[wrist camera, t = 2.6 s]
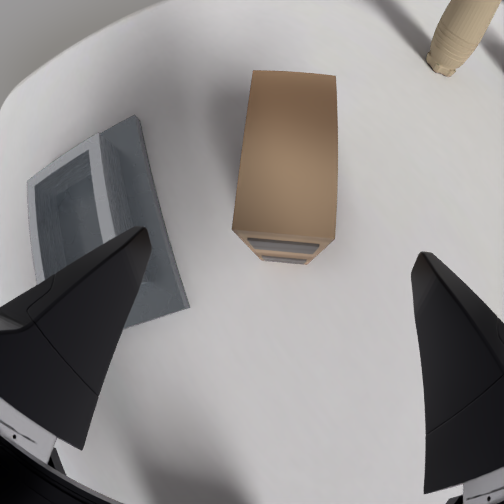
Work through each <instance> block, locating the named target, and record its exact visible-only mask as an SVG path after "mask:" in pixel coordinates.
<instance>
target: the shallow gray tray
mask: <svg viewBox="0 0 504 504" xmlns="http://www.w3.org/2000/svg"><path fill="white" fill-rule="evenodd" d="M27 202H28V219H29V230H30V240H31V248H32V256H33V263H34V269H35V275H36V281H37V285H38V284H39V283H41V282H42V281H44V280H46V279H47V278H49V277H50V276H52V275H53V274H56V272H58V271H60V270H61V269H63V268H64V267H66V266H67V265H69V264H71V263H72V262H74V261H75V260H77V259H79V258H80V257H82V256H84V255H85V254H87V253H89V252H90V251H92V250H94V249H95V248H97V247H99V246H100V245H102V244H104V243H105V242H107V241H109V240H111V239H112V238H114V237H116V236H118V235H119V234H121V233H123V232H125V231H126V230H128V229H130V228H132V227H134V226H144V227H146V228H147V230H148V234H149V238H150V242H151V246H152V252H151V255H150V258H149V261H148V264H147V267H146V270H145V273H144V277H143V280H142V283H141V286H140V289H139V291H138V294H137V296H136V299H135V301H134V303H133V306H132V308H131V311H130V313H129V315H128V318H127V320H126V323H125V325H124V328H123V329H125V328H129V327H132V326H135V325H138V324H141V323H144V322H148V321H151V320H154V319H157V318H160V317H163V316H166V315H169V314H172V313H175V312H178V311H181V310H184V309H187V308H190V306H189V303H188V300H187V297H186V294H185V291H184V288H183V285H182V281H181V278H180V275H179V272H178V269H177V265H176V262H175V259H174V256H173V252H172V249H171V245H170V242H169V239H168V235H167V232H166V228H165V224H164V221H163V217H162V213H161V210H160V206H159V202H158V198H157V194H156V190H155V186H154V182H153V178H152V174H151V170H150V166H149V161H148V157H147V152H146V148H145V143H144V139H143V134H142V129H141V124H140V120H139V119H138V118H137V117H136V116H135V115H133V116H132V117H130V118H128V119H126V120H124V121H122V122H120V123H118V124H117V125H115V126H113V127H111V128H109V129H108V130H106V131H104V132H102V133H101V134H100V133H99V132H98V133H97V134H95V135H93V136H92V137H90V138H88V139H87V140H85V141H83V142H82V143H80V144H79V145H77V146H76V147H74V148H72V149H71V150H69V151H68V152H66V153H65V154H63V155H62V156H60V157H59V158H58V159H56V160H55V161H53V162H52V163H50V164H49V165H48V166H46V167H45V168H43V169H42V170H41V171H39V172H38V173H37V174H35V175H34V176H33V177H31V178H30V179H29V180H28V181H27Z"/></svg>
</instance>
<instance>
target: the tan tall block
mask: <svg viewBox="0 0 504 504" xmlns="http://www.w3.org/2000/svg"><path fill="white" fill-rule="evenodd" d="M337 177H338V120H337V90H336V76H332V75H324V74H314V73H303V72H288V71H261V70H253V74H252V81H251V88H250V95H249V102H248V109H247V116H246V123H245V130H244V137H243V145H242V152H241V160H240V168H239V175H238V183H237V191H236V199H235V207H234V216H233V224H232V230H233V231H234V232H235V233H236V234H237V235H238V236H239V238H240V239H241V240H242V241H243V242H244V243H245V244H246V245H247V246H248V247H249V248H250V249H251V250H252V251H253V252H254V253H255V254H256V255H257V256H258V257H259V258H260V259H261V260H263V261H272V262H283V263H294V264H305V265H307V264H308V263H309V262H311V261H312V260H313V259H314V258H315V257H316V256H317V255H318V254H319V253H320V252H321V251H322V250H324V249H325V248H326V247H327V246H328V245H329V244H330V243H331V242H332V241H333V240H334V239H335V228H336V208H337Z"/></svg>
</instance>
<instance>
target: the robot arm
mask: <svg viewBox="0 0 504 504" xmlns="http://www.w3.org/2000/svg"><path fill="white" fill-rule="evenodd" d="M151 252H152V246H151V242H150V238H149V234H148V230H147V228H146V227H144V226H134V227H132V228H130V229H128V230H126V231H125V232H123V233H121V234H119V235H118V236H116V237H114V238H112V239H111V240H109V241H107V242H105V243H104V244H102V245H100V246H99V247H97V248H95V249H94V250H92V251H90V252H89V253H87V254H85V255H84V256H82V257H80V258H79V259H77V260H75V261H74V262H72V263H71V264H69V265H67V266H66V267H64V268H63V269H61V270H60V271H58V272H56V274H53V275H52V276H50V277H49V278H47V279H46V280H44V281H42V282H41V283H39V284H38V285H36V286H35V287H33V288H31V289H30V290H28V291H26V292H25V293H23V294H21V295H20V296H18V297H16V298H15V299H13V300H11V301H10V302H8V303H6V304H5V305H3V306H2V307H0V504H123V503H121V502H118V501H116V500H114V499H111V498H109V497H107V496H105V495H103V494H100V493H98V492H96V491H94V490H92V489H90V488H88V487H86V486H84V485H82V484H80V483H78V482H76V481H75V480H73V479H71V478H69V477H67V476H66V474H65V471H64V469H63V466H62V464H61V461H60V458H59V456H58V453H57V450H56V448H54V445H55V442H56V440H57V438H59V439H61V440H62V441H64V442H66V443H68V444H70V445H72V446H74V447H76V448H78V449H80V450H83V447H84V444H85V441H86V437H87V433H88V430H89V427H90V423H91V420H92V417H93V413H94V410H95V407H96V404H97V401H98V396H99V394H100V391H101V388H102V385H103V382H104V379H105V376H106V373H107V371H108V368H109V365H110V362H111V359H112V357H113V354H114V351H115V349H116V346H117V343H118V341H119V338H120V336H121V333H122V330H123V328H124V325H125V323H126V320H127V318H128V315H129V313H130V311H131V308H132V306H133V303H134V301H135V299H136V296H137V294H138V291H139V289H140V286H141V283H142V280H143V277H144V273H145V270H146V267H147V264H148V261H149V258H150V255H151ZM411 282H412V292H413V303H414V315H415V323H416V329H417V335H418V342H419V350H420V357H421V366H422V376H423V387H424V402H425V425H426V451H425V478H424V494H428V493H432V492H436V491H440V490H444V489H448V488H451V487H455V486H458V485H462V484H463V495H460V496H457V497H453V498H450V499H449V500H448V501H447V503H446V504H504V323H503V322H502V321H501V320H500V319H499V318H497V316H496V315H495V313H494V312H493V311H492V310H491V309H490V308H489V307H488V306H487V305H486V304H485V303H484V302H483V301H482V300H481V299H480V298H479V297H478V296H477V295H476V294H475V293H474V292H473V291H472V290H471V289H470V288H469V287H468V286H467V285H466V284H465V283H464V282H463V281H462V280H461V279H460V278H459V277H458V276H457V275H456V274H455V273H454V272H452V271H451V270H450V269H449V268H448V267H447V266H446V265H445V264H444V263H443V262H442V261H441V260H439V259H438V258H437V257H436V256H435V255H434V254H433V253H431V252H420V253H419V255H418V257H417V259H416V262H415V264H414V267H413V269H412V272H411Z"/></svg>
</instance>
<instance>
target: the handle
mask: <svg viewBox="0 0 504 504" xmlns="http://www.w3.org/2000/svg"><path fill="white" fill-rule="evenodd" d="M500 2H501V0H451V1H450V3H449V5H448V6H447V8H446V10H445V12H444V13H443V15H442V17H441V19H440V21H439V23H438V25H437V28H436V30H435V33H434V36H433V38H432V42H431V46H430V49H431V50H430V52H428V54H427V58H426V60H427V63H428V64H430V66H431V67H432V68H433V70H434V71H435V72H436V73H441V74H443V75H445V76H447V77H450V76H452V75H453V74H454V73H455V72H456V71H455V69H456V68H459V67H460V66H461V65H462V64H463V63H464V62H465V61H466V60H467V59H468V58H469V57H470V55H471V54H472V53H473V51H474V50H475V49H476V47H477V46H478V44H479V43H480V41H481V39H482V37H483V35H484V33H485V31H486V30H487V28H488V26H489V24H490V22H491V20H492V18H493V16H494V14H495V12H496V10H497V8H498V6H499V4H500Z"/></svg>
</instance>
